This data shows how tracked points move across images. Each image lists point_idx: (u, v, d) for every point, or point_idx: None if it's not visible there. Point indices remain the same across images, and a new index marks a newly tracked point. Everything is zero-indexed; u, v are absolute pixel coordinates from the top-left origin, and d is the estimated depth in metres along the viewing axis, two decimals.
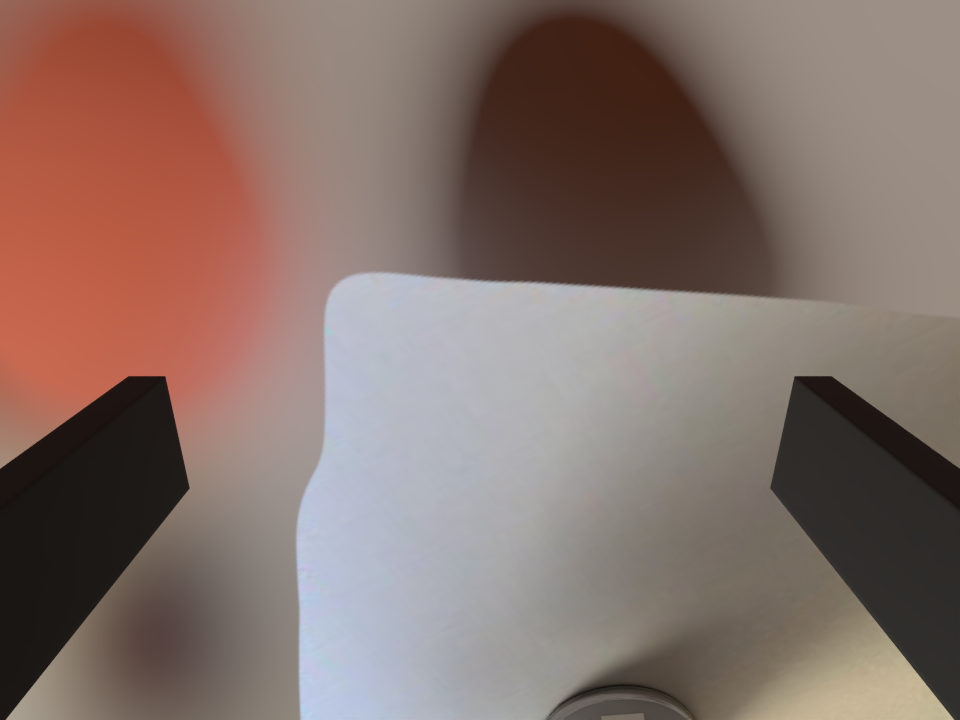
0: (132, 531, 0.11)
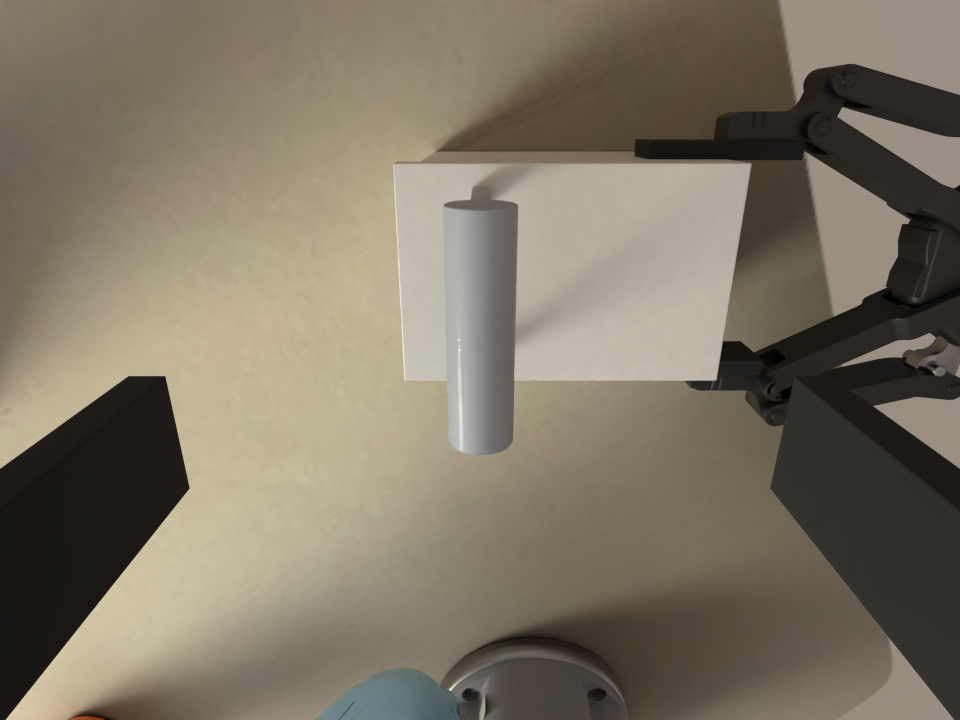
0: (132, 531, 0.11)
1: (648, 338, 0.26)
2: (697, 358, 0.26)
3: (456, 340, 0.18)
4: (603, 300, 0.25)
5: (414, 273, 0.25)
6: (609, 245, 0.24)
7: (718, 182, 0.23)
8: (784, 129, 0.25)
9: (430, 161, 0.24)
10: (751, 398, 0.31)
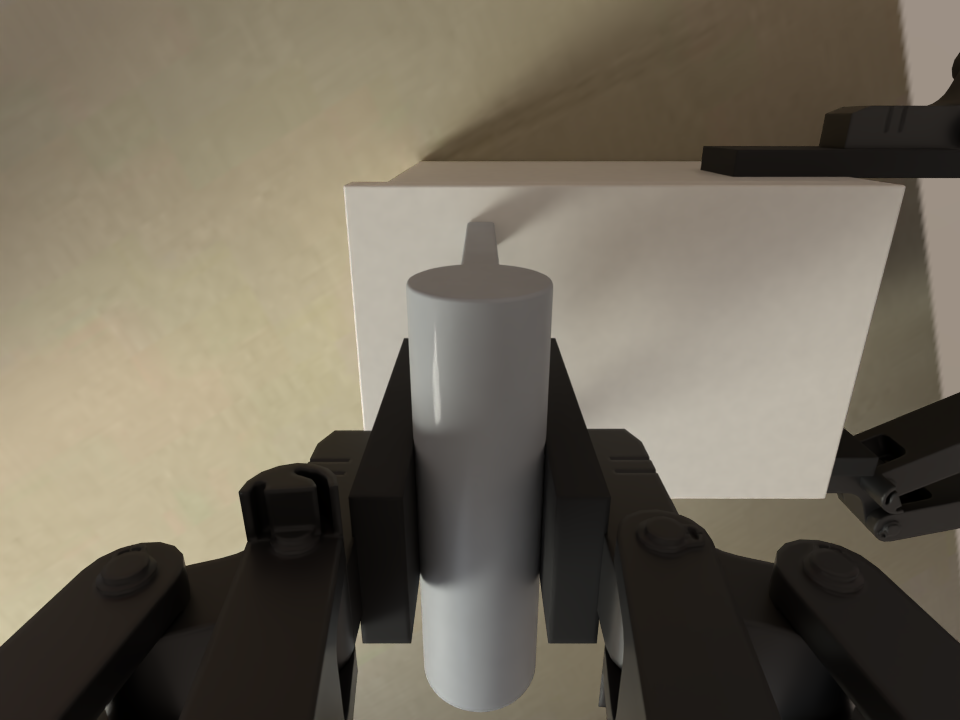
0: None
1: (728, 441, 0.17)
2: (799, 468, 0.18)
3: (434, 529, 0.10)
4: (665, 388, 0.17)
5: (380, 349, 0.16)
6: (676, 308, 0.16)
7: (851, 215, 0.15)
8: (933, 132, 0.17)
9: (403, 181, 0.16)
10: (850, 498, 0.23)
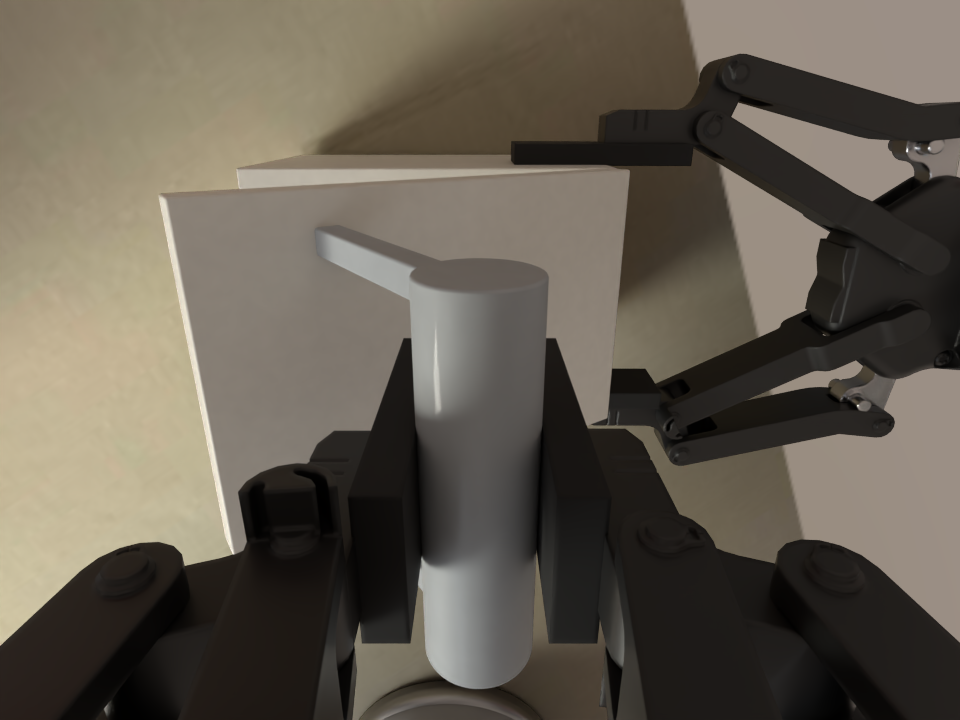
0: None
1: None
2: (591, 399, 0.22)
3: (469, 521, 0.10)
4: None
5: (230, 383, 0.14)
6: None
7: (602, 194, 0.19)
8: (671, 130, 0.22)
9: (249, 168, 0.20)
10: (657, 433, 0.28)
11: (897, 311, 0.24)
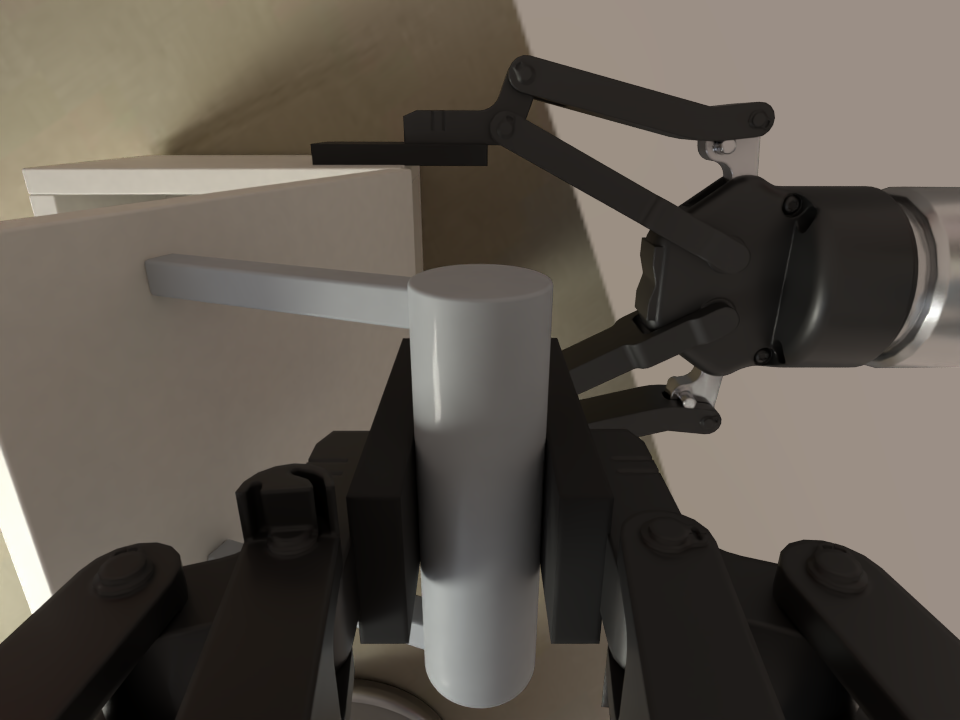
0: None
1: (376, 401, 0.20)
2: None
3: (510, 533, 0.09)
4: (336, 377, 0.17)
5: (64, 490, 0.10)
6: None
7: (395, 195, 0.19)
8: (469, 130, 0.22)
9: (35, 168, 0.20)
10: None
11: (707, 309, 0.24)
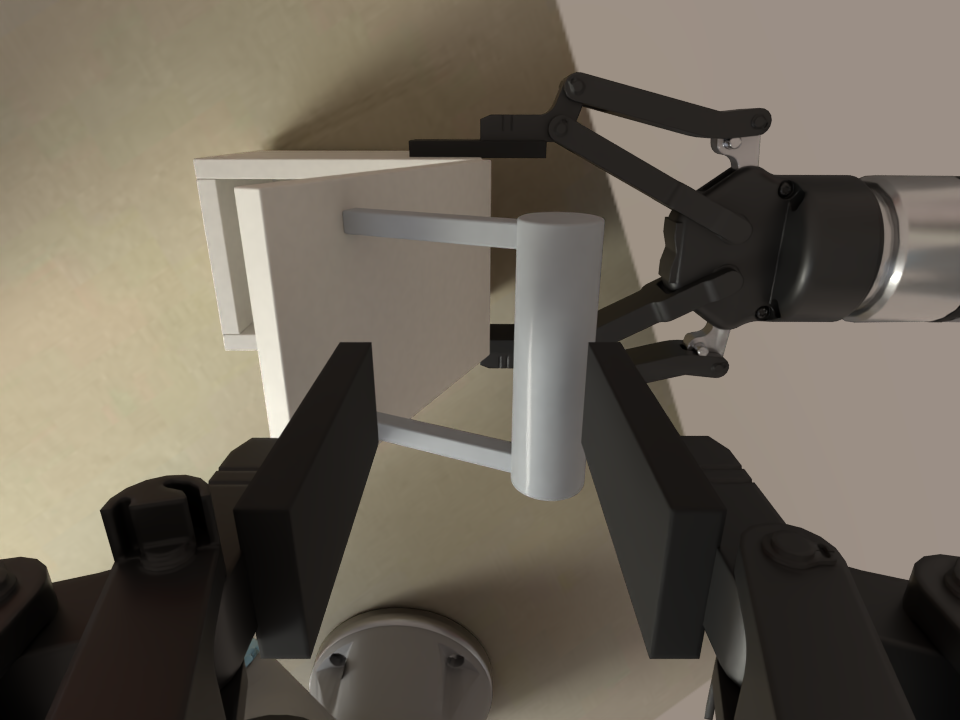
0: (361, 471, 0.13)
1: (460, 336, 0.26)
2: (481, 340, 0.28)
3: (574, 375, 0.15)
4: (437, 311, 0.24)
5: (298, 348, 0.16)
6: (435, 253, 0.23)
7: (480, 179, 0.25)
8: (531, 130, 0.28)
9: (203, 158, 0.27)
10: None
11: (718, 273, 0.30)
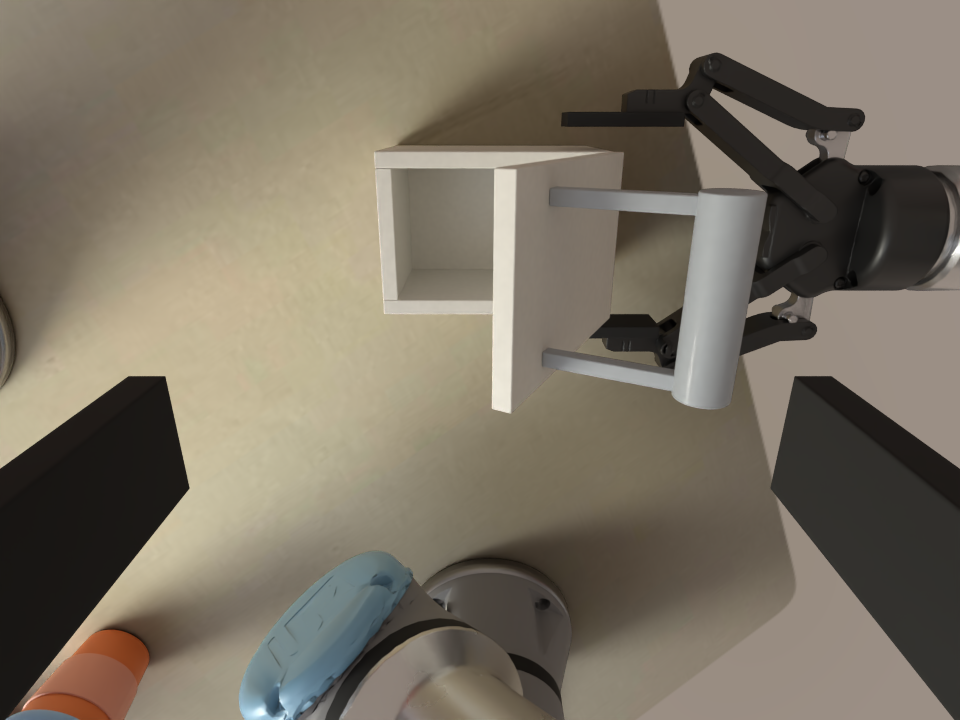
0: (132, 531, 0.11)
1: (595, 298, 0.31)
2: (606, 304, 0.34)
3: (737, 310, 0.21)
4: (585, 275, 0.29)
5: (521, 290, 0.22)
6: (589, 227, 0.28)
7: (617, 167, 0.31)
8: (670, 103, 0.33)
9: (382, 151, 0.32)
10: (657, 358, 0.40)
11: (805, 248, 0.35)
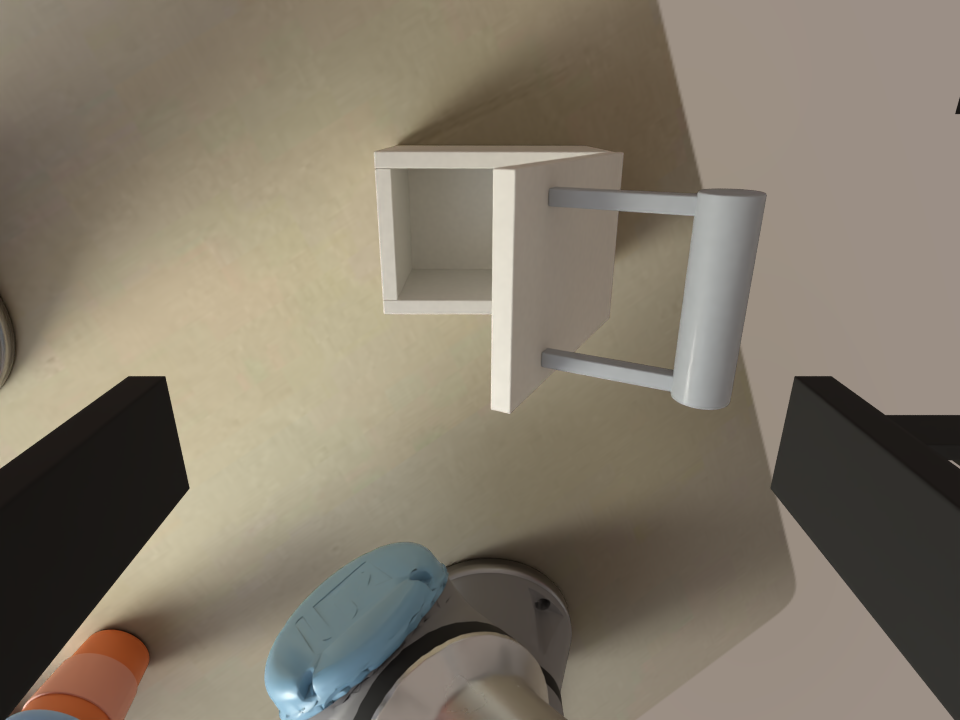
0: (132, 531, 0.11)
1: (595, 298, 0.31)
2: (606, 304, 0.34)
3: (735, 310, 0.21)
4: (585, 275, 0.29)
5: (520, 290, 0.22)
6: (588, 227, 0.28)
7: (616, 168, 0.31)
8: None
9: (382, 151, 0.32)
10: None
11: None
